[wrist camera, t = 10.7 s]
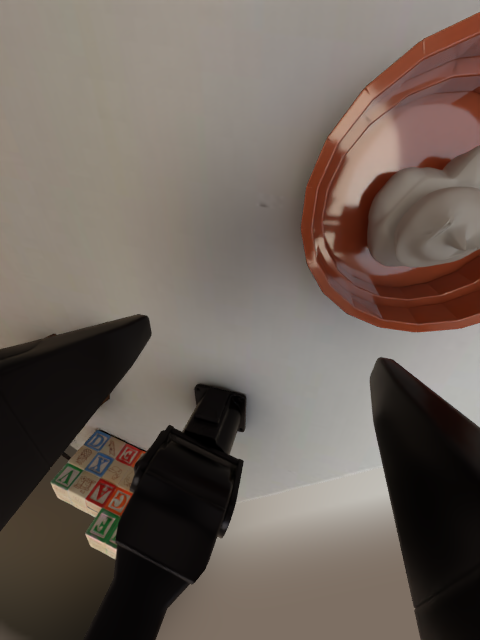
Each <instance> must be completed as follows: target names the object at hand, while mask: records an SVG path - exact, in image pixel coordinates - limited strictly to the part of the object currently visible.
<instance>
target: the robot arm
mask: <svg viewBox="0 0 480 640" xmlns="http://www.w3.org/2000/svg"><path fill="white" fill-rule="evenodd" d="M150 337H151V327H150V321H149V318H148V317H147V316H145V315H140V314H137V315H133V316H129V317H126V318H122V319H118V320H114V321H110V322H106V323H102V324H98V325H94V326H90V327H87V328H83V329H79V330H75V331H71V332H67V333H63V334H59V335H55V336H52V337H48V338H44V339H40V340H36V341H32V342H28V343H24V344H20V345H16V346H12V347H7V348H3V349H0V531H1V530H2V529H3V527H4V526H5V525H6V524H7V522H8V521H9V520H10V518H11V517H12V516H13V515H14V514H15V512H16V511H17V510H18V509H19V507H20V506H21V505H22V503H23V502H24V501H25V500H26V499H27V497H28V496H29V495H30V494H31V492H32V491H33V490H34V488H35V487H36V486H37V485H38V483H39V482H40V481H41V480H42V479H43V477H44V476H45V475H46V473H47V472H48V471H49V470H50V467H52V466H53V464H54V463H55V462H56V461H57V459H58V458H59V457H60V456H61V454H62V453H63V452H64V451H65V449H66V448H67V447H68V446H69V444H70V443H71V442H72V441H73V439H74V438H75V437H76V436H77V434H78V433H79V432H80V431H81V429H82V428H83V427H84V426H85V424H86V423H87V422H88V421H89V419H90V418H91V417H92V416H93V414H94V413H95V412H96V411H97V409H98V408H99V407H100V406H101V404H102V403H103V402H104V400H105V399H106V398H107V397H108V395H109V394H110V393H111V392H112V390H113V389H114V388H115V387H116V385H117V384H118V383H119V382H120V380H121V379H122V378H123V377H124V375H125V374H126V373H127V372H128V370H129V369H130V368H131V366H132V365H133V364H134V362H135V361H136V359H137V358H138V356H139V355H140V353H141V351H142V350H143V348H144V347H145V345H146V344H147V342H148V341H149V339H150ZM370 390H371V402H372V413H373V422H374V427H375V432H376V437H377V441H378V446H379V450H380V455H381V459H382V464H383V469H384V473H385V478H386V482H387V487H388V491H389V496H390V501H391V505H392V510H393V514H394V519H395V523H396V528H397V533H398V537H399V541H400V546H401V551H402V555H403V560H404V565H405V569H406V574H407V578H408V583H409V587H410V592H411V596H412V601H413V605H414V608H415V615H416V620H417V625H418V629H419V633H420V638H421V640H480V427H478V426H477V425H476V424H474V423H473V422H472V421H471V420H469V419H468V418H467V417H466V416H464V415H463V414H462V413H460V412H459V411H458V410H457V409H455V408H454V407H453V406H451V405H450V404H449V403H448V402H446V401H445V400H444V399H443V398H441V397H440V396H439V395H437V394H436V393H435V392H434V391H432V390H431V389H430V388H428V387H427V386H426V385H425V384H423V383H422V382H421V381H420V380H418V379H417V378H416V377H414V376H413V375H412V374H411V373H409V372H408V371H407V370H405V369H404V368H403V367H402V366H400V365H399V364H398V363H396V362H395V361H394V360H392V359H388V358H382V357H380V358H378V359H377V361H376V363H375V366H374V368H373V371H372V373H371V376H370ZM195 397H196V405H197V406H196V408H195V410H194V411H193V413H192V415H191V417H190V419H189V420H188V422H187V424H186V426H185V428H184V430H183V431H182V432H181V431H179V430H177V429H175V428H174V427H173V426H171V425H169V426H168V427H167V428H166V430H165V431H164V430H163V431H161V432H160V434H159V436H158V437H157V439H156V440H155V442H154V443H153V445H152V446H151V447H150V448H149V449H148V450H147V451H146V452H145V453H144V455H143V456H142V457H141V458H140V459H139V460H138V461H137V462H136V464H135V465H134V474H135V475H134V477H133V481H132V483H131V486H130V489H129V490H130V492H132V493H133V495H132V497H131V498H130V500H129V502H128V504H127V506H126V508H125V510H124V511H123V513H122V515H121V518H120V520H119V523H118V527H117V533H116V539H115V543H116V544H117V551H116V561H115V571H114V578H113V581H112V583H111V585H110V587H109V589H108V592H107V593H106V595H105V598H104V599H103V601H102V603H101V605H100V607H99V610H98V611H97V613H96V615H95V617H94V619H93V621H92V623H91V625H90V627H89V629H88V631H87V633H86V635H85V637H84V639H83V640H155V639H156V637H157V634H158V632H159V629H160V626H161V624H162V621H163V618H164V615H165V613H166V610H167V608H168V607H169V606H170V605H171V604H172V603H173V602H174V601H175V600H176V598H177V597H178V596H179V595H180V594H181V593H182V592H183V591H184V590H185V589H186V588H187V586H188V585H189V584H193V583H195V582H196V580H197V579H198V578H199V577H200V575H201V574H202V573H203V572H204V570H205V569H206V566H207V564H208V562H209V559H210V556H211V553H212V550H213V548H214V544H215V542H216V538H217V537H220V538H223V536H224V534H225V532H226V530H227V528H228V526H229V523H230V520H231V517H232V514H233V511H234V508H235V504H236V499H237V494H238V489H239V484H240V478H241V473H242V467H243V462H244V461H243V460H241V459H237V458H235V457H232V456H230V452H231V448H232V445H233V442H234V439H235V436H236V433H237V431H239V432H244V431H245V424H246V396H245V395H243V394H239V393H235V392H230V391H226V390H222V389H217V388H213V387H209V386H204V385H200V384H197V385H196V386H195Z"/></svg>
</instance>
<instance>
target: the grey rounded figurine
mask: <svg viewBox="0 0 480 640" xmlns="http://www.w3.org/2000/svg"><path fill="white" fill-rule="evenodd" d="M368 220H369V223H368V230H367V246H368V249H369V252H370V254H371V256H372V257H373V258H374V259H375V260H376V261H377V262H379V263H380V264H382V265H384V266H391V267H395V266H406V267H427V266H433V265H439V264H444V263H450V262H454V261H457V260H460V259H462V258H464V257H466V256H468V255H469V254H471V253H472V252H474V251H476V250H479V249H480V145H479V146H477V147H475V148H473V149H472V150H470V151H469V152H467V153H464V154H461V155H458V156H457V157H455V158H454V159H452V160H451V161H450V162H449V163H448V164H447V165H446V166H445V167H444V169H443V170H439V169H435V168H431V167H424V168H418V167H409V168H405V169H402V170H400V171H398V172H396V173H395V174H394V175H393V176H392V177H391V178H390V179H389V180H388V181H387V182H386V184H385V185H384V186H383V187H382V188H381V189H380V191H379V192H378V193H377V194H376V196H375V197H374V199H373V201H372V204H371V207H370V210H369V215H368Z"/></svg>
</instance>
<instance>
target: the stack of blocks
mask: <svg viewBox="0 0 480 640" xmlns="http://www.w3.org/2000/svg"><path fill="white" fill-rule="evenodd" d="M144 453H145V452H144V451H142V450H140V449H138V448H136V447H133V446H131V445H129V444H126V443H125V442H123V441H121V440H118V439H116V438H114V437H112V436H110V435H108V434H106V433H103V432H101V431H99V430H96V432H95V433H94V434H93V435H92V436H91V437H90V438H89V439H88V440H87V441H86V442H85V444H84V445H83V446H82V447H81V448H80V449H79V450H78V451H77V452H76V453H75V455H74V456H73V457H72V458H71V459H70V460H69V461H68V463H67V464H66V465H65V466H64V467H63V468H62V470H61V471H60V472H59V473H58V474H57V475H56V476H55V478H54V479H53V480H52V481H51V485H52V487H53V490H54V491H55V493H56V495H57V497H58V498H59V499H61V500H63V501H65V502H67V503H69V504H71V505H73V506H74V507H76V508H78V509H80V510H82V511H84V512H86V513H88V514H90V515H92V516H94V517H96V518H95V519H94V521H93V522H92V524H91V525H90V527H89V528H88V530H87V531H86V533H85V534H86V537H87V539H88V541H89V543H90V546H91V547H93V548H95V549H97V550H99V551H101V552H103V553H105V554H107V555H108V556H110V557H112V558H114V559H116V551H117V544H116V543H115V539H116V533H117V527H118V523H119V520H120V518H121V515H122V513H123V511H124V510H125V508H126V506H127V504H128V502H129V500H130V498H131V497H132V495H133V493H132V492H130V490H129V489H130V486H131V483H132V481H133V477H134V475H135V474H134V465H135V464H136V462H137V461H138V460H139V459H140V458H141V457H142V456H143V455H144Z"/></svg>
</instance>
